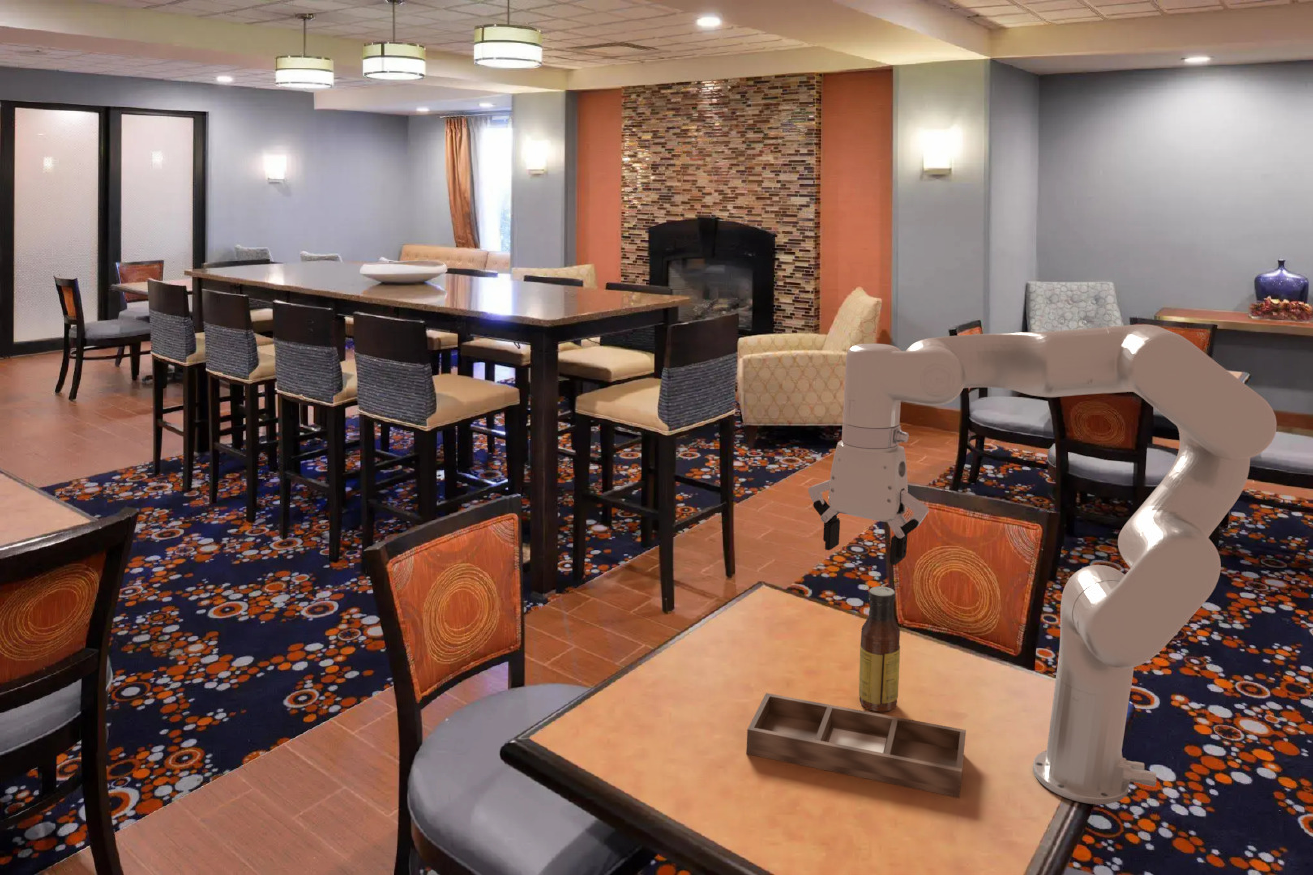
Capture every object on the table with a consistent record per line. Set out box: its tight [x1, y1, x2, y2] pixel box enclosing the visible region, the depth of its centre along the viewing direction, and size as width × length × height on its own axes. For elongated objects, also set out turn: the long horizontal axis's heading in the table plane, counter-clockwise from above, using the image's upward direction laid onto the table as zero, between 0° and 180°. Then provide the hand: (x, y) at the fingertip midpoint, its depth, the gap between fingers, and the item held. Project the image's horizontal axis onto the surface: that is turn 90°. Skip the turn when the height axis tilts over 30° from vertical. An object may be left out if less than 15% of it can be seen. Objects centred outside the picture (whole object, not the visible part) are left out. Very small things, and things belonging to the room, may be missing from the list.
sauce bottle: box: [858, 586, 901, 713], centre depth 158 cm, size 7×6×20 cm
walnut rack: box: [746, 692, 967, 798], centre depth 146 cm, size 30×12×4 cm, turn 71°
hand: (863, 554), depth 138 cm, fingers open, 9 cm apart
